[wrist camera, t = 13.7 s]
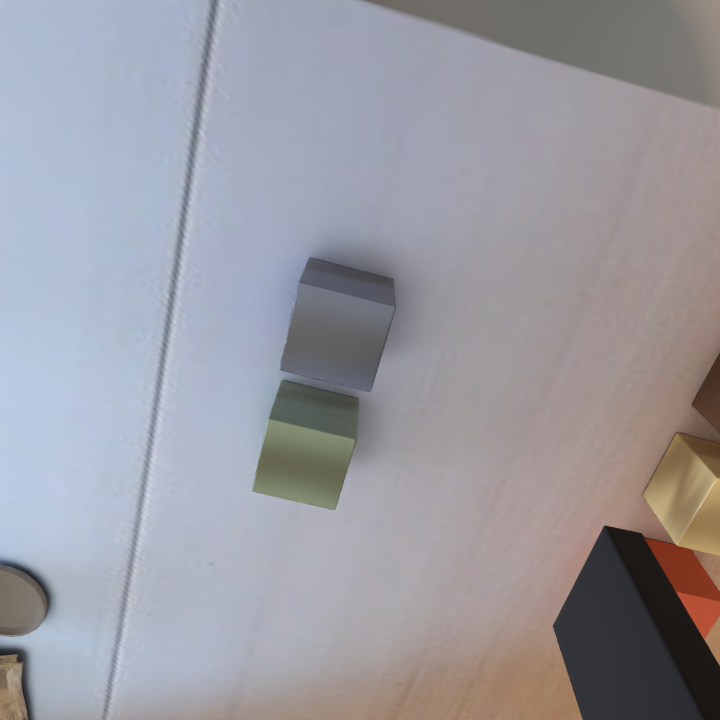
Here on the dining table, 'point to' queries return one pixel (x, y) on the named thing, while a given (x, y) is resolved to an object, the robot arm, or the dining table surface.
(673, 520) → the row of colored cubes
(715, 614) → the block
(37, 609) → the pocket watch
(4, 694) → the parchment
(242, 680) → the dining table surface
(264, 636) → the dining table surface
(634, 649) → the robot arm
